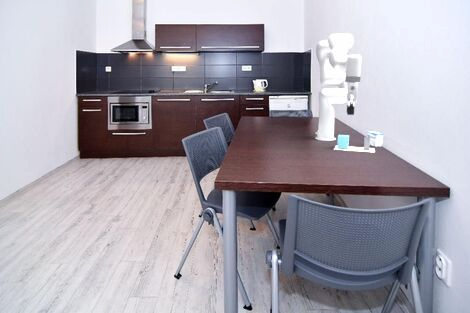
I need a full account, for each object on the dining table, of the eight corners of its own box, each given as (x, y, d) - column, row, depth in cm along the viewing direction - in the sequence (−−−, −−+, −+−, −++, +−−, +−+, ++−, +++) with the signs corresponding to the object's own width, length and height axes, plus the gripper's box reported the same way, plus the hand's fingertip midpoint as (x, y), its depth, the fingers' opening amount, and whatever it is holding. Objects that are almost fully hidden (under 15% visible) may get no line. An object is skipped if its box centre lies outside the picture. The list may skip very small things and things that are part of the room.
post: (363, 149, 196) (364, 136, 194) (363, 148, 198) (364, 136, 197) (369, 150, 195) (370, 137, 193) (369, 149, 198) (370, 136, 196)
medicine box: (365, 146, 213) (367, 131, 211) (372, 146, 214) (373, 131, 213) (375, 149, 206) (376, 133, 204) (382, 148, 207) (383, 133, 205)
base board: (333, 152, 197) (333, 149, 196) (335, 148, 208) (335, 145, 207) (374, 155, 190) (374, 152, 190) (374, 150, 201) (374, 148, 201)
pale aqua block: (337, 148, 199) (337, 136, 197) (337, 146, 204) (338, 134, 202) (347, 149, 197) (348, 136, 196) (348, 147, 202) (349, 135, 201)
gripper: (361, 80, 183) (358, 115, 187) (359, 80, 200) (356, 112, 203) (345, 80, 185) (342, 115, 189) (344, 80, 201) (342, 112, 205)
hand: (350, 113), depth 196 cm, fingers open, 9 cm apart
